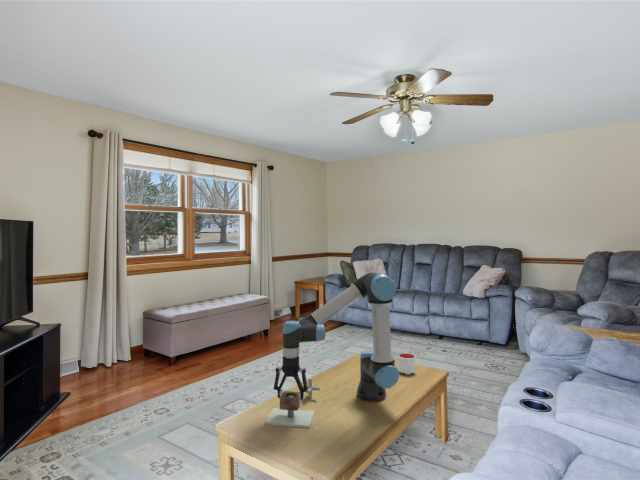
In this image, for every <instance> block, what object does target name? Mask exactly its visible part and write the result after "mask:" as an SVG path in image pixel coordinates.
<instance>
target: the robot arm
mask: <svg viewBox="0 0 640 480" xmlns="http://www.w3.org/2000/svg"><path fill="white" fill-rule="evenodd" d="M396 286H397V285H396V283H395V281H394V280H393V278H391V277H389V276H388V275H386V274H381V273H377V272H368V273H365V274H363V275H362V276H360V277H359V278H357V279H355V280H354V281H352V283H350V286H349V287H347V288H346V289H345V290H343V291H341V293H339V294H337V296H334V298H332V299H330V300H329V301H328V302H326V303H325V304H323V305H322V306H320V307H319V308H318V309H316V310H315V311H313V312H311V313H310V314H309V315H307V316H302V317H300V318H299V319H298V320H287V321H284V322H283V324H282V365H281V366H277V367H276V368H275V373H276V374H275V378H274V383H273V390H274V391H276V392H277V399H280V397H281V396H282V394H283V392H284V389H282V388H283V385H284V383H285V381H286V379H287V378H289V377H291V378H294V380H295V383H296V385H297V388H298V389H299V391H298V392H299V408H298V409H300V408H301V406H302V401H303V400H304V396H305V395H304V393H306V392H307V389H308V387H307V386H308V383H307V381H308V380H307V376H306V372H307V368H305V367H304V368H302V367H301V366H300V343H309V342H322V341H324V340H325V338H326V327H325V325H324V324H325V323H326V322H328V321H329V320H331V319H332V318H334V317H335V316H336V315H338V314H340V313H341V312H342V311H343V310H346V309H347V308H348V307H349V306H351V305H352V304H354V303H355V302H357V301H358V300H363V299H364V298H367V303H368V304H369V305H370V306H371V307H370V308H371V323H372V324H371V326H372V327H371V329H372V349H370V350H369V349H368V350H364V351H362V352H360V357H359V359H360V361H359V364H360V369H359V371H360V372H359V373H360V375H359V377H360V380H359V383H358V387H357V388H356V396H357V397H358V399H361V400H364V401H367V402H380V401H383V400H385V399H386V398H387V390H386V389H391V388H393V387H394V386H395V385H396V384H397V383H398V381H399V379H400V372H399V371H398V367H397V366H396V362H395V361H396V359H395V355H393V354H392V347H391V346H392V341H391V340H392V339H391V317H390V316H391V315H390V313H391V312H390V305H391V304H392V303H393V297H394V296H395V294H396V291H397V287H396ZM281 372H283V376H282V379H281V381H280V383H279V380H280V376H281V375H280V374H281ZM299 372H300V374H301V379H302V381H301V379H300V375H299ZM303 386H304V388H303Z"/></svg>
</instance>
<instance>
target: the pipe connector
mask: <svg viewBox="0 0 640 480" xmlns="http://www.w3.org/2000/svg"><path fill="white" fill-rule="evenodd" d="M302 386H303V385H302ZM307 387H308V389H307V392H305V393H306V394H307V395H308V399H313V391H318V392H320V391H321V387H320V386H315V383H314V382H313V377H308V385H307ZM303 388H304V386H303Z"/></svg>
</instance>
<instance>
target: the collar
mask: <svg viewBox="0 0 640 480" xmlns="http://www.w3.org/2000/svg"><path fill="white" fill-rule="evenodd" d="M290 395H292V396H294V398H293V397H288V396H290ZM279 408H280V409H281V410H294V411H297V410H299V409H300V408H299V391H288V390H287V391H286V390H285V391H284V390H283V394H282V396H281V397H280V398H279Z"/></svg>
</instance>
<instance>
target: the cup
mask: <svg viewBox="0 0 640 480" xmlns="http://www.w3.org/2000/svg"><path fill="white" fill-rule="evenodd" d="M397 357H398V358H397V363H398V364H397V369H398V371H399V373H400V372H401V373H400V374H402V373H405V374H404V375H412V374H411V373H413V374H414V373H415V371H416V355H414V354H412V353H404V352H403V353H399V354H398V355H397Z"/></svg>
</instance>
